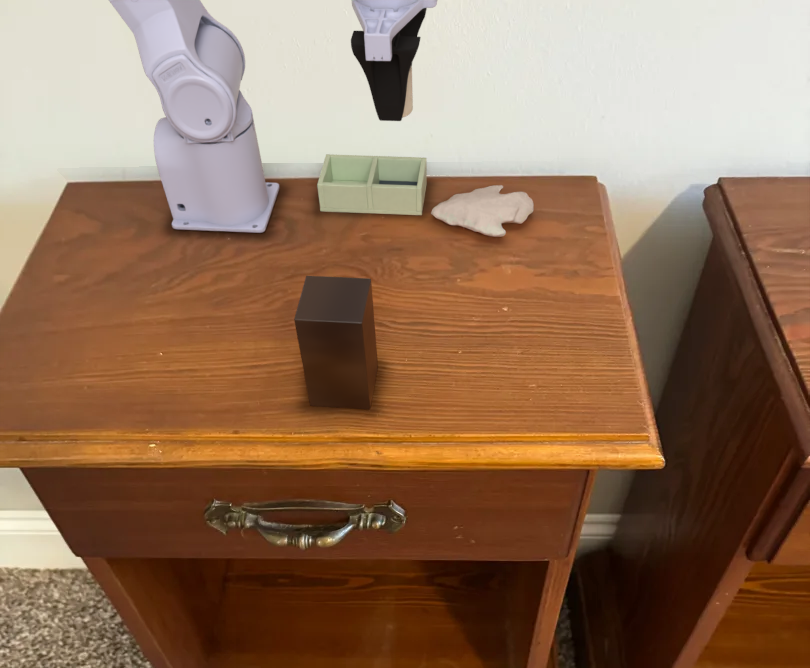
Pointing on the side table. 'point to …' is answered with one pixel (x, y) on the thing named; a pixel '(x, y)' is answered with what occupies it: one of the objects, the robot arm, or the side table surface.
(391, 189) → the green divided box
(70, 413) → the side table surface
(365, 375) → the stand
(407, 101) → the beige cylinder
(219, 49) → the robot arm
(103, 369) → the side table surface
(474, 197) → the arrowhead
